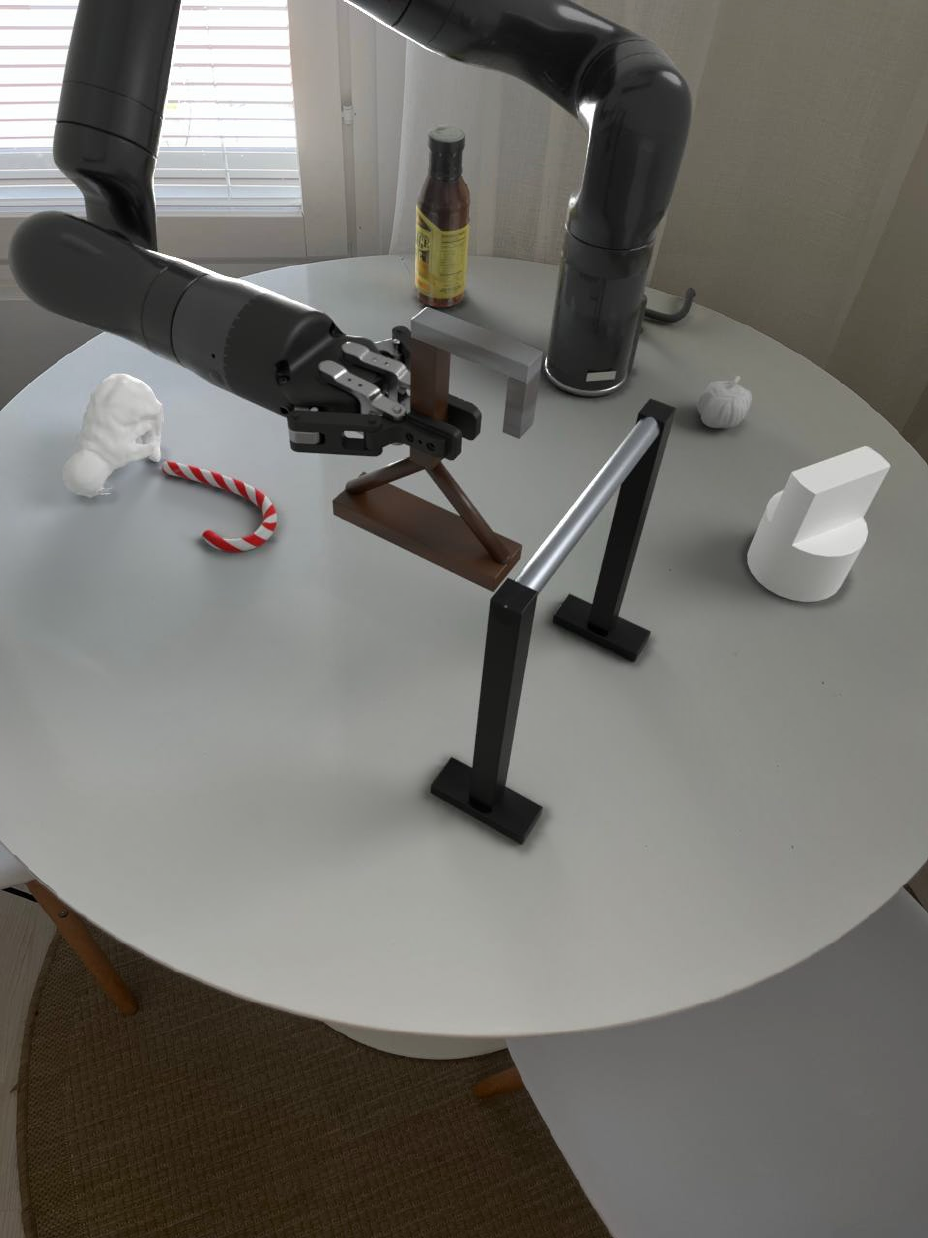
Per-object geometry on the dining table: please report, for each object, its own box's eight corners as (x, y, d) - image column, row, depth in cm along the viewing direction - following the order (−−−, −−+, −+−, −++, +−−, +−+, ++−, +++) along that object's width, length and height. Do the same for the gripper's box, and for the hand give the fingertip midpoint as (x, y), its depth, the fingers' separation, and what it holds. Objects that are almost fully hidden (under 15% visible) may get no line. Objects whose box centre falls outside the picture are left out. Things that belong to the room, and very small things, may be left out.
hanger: (332, 514, 68) (314, 293, 54) (363, 485, 71) (353, 265, 57) (494, 593, 64) (520, 376, 50) (521, 559, 66) (553, 342, 52)
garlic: (726, 400, 102) (739, 361, 98) (755, 429, 99) (770, 389, 95) (682, 413, 100) (693, 373, 96) (710, 442, 97) (723, 402, 93)
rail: (567, 601, 82) (613, 378, 63) (648, 639, 79) (720, 419, 61) (430, 793, 69) (438, 582, 50) (522, 845, 66) (566, 644, 48)
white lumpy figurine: (159, 374, 86) (80, 457, 79) (181, 440, 93) (111, 522, 86) (103, 356, 87) (22, 437, 81) (129, 422, 94) (56, 501, 88)
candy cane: (188, 443, 91) (296, 510, 86) (190, 453, 92) (297, 520, 87) (125, 483, 87) (235, 556, 81) (128, 493, 88) (237, 566, 82)
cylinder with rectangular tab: (789, 614, 82) (838, 518, 73) (727, 549, 87) (765, 451, 78) (863, 583, 85) (918, 487, 76) (799, 522, 90) (844, 424, 81)
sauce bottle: (413, 283, 115) (415, 116, 100) (462, 283, 115) (471, 117, 100) (416, 312, 111) (418, 142, 95) (467, 312, 111) (477, 143, 96)
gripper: (177, 344, 56) (410, 447, 51) (312, 253, 64) (526, 334, 59) (198, 439, 62) (409, 541, 57) (320, 345, 70) (515, 427, 65)
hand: (468, 435), depth 58 cm, fingers closed on hanger, 2 cm apart
